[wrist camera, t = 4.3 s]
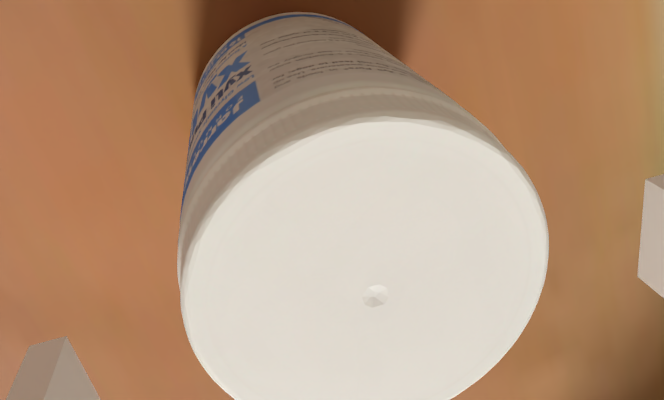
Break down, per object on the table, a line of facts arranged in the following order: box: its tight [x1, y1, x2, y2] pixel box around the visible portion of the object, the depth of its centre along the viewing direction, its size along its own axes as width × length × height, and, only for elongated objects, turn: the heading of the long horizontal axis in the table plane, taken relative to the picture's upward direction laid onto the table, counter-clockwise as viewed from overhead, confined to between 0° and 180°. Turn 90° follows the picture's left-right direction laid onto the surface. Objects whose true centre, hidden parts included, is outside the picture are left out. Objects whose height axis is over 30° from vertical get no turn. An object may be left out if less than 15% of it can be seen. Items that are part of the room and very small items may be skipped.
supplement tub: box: [177, 12, 549, 400], centre depth 20 cm, size 10×10×15 cm
